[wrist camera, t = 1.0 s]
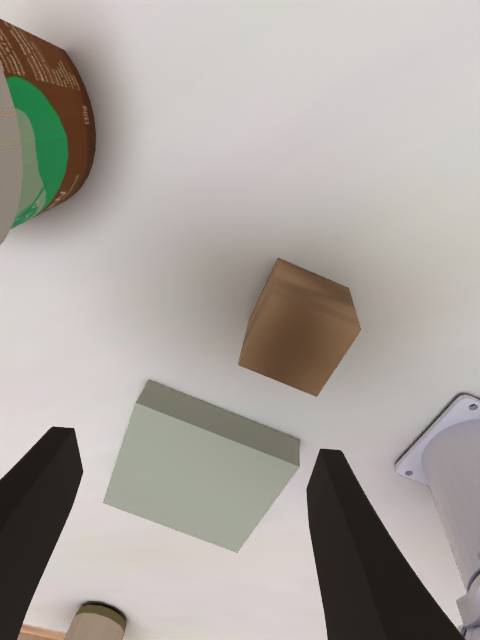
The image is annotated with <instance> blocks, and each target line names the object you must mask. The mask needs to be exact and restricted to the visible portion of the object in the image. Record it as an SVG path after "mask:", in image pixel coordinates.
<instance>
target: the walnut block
mask: <svg viewBox="0 0 480 640" xmlns="http://www.w3.org/2000/svg"><path fill="white" fill-rule="evenodd" d="M360 331H361V328H360V325H359V321H358V318H357V315H356V311H355V308H354V304H353V301H352V298H351V294H350V291H349V288H347V287H345V286H343V285H340V284H338V283H336V282H333V281H331V280H329V279H326V278H324V277H322V276H319V275H317V274H315V273H312V272H310V271H308V270H305V269H303V268H301V267H298V266H296V265H294V264H291V263H289V262H287V261H284V260H282V259H280V258H278V259H277V261H276V264H275V266H274V268H273V270H272V272H271V274H270V276H269V278H268V281H267V283H266V285H265V287H264V289H263V291H262V293H261V296H260V298H259V300H258V302H257V304H256V306H255V308H254V310H253V313H252V315H251V317H250V319H249V322H248V326H247V330H246V334H245V338H244V342H243V347H242V351H241V355H240V359H239V363H238V365H240V366H242V367H245V368H247V369H249V370H252V371H254V372H257V373H259V374H262V375H264V376H267V377H269V378H272V379H274V380H277V381H279V382H282V383H284V384H286V385H289V386H291V387H294V388H296V389H299V390H301V391H304V392H306V393H309V394H311V395H314V396H316V397H317V396H318V394H319V393H320V391H321V390H322V388H323V387H324V385H325V384H326V382H327V381H328V379H329V378H330V376H331V375H332V373H333V371H334V370H335V368H336V367H337V365H338V364H339V362H340V361H341V359H342V358H343V356H344V355H345V353H346V352H347V350H348V349H349V347H350V346H351V344H352V343H353V341H354V340H355V338H356V337H357V335H358V334H359V332H360Z"/></svg>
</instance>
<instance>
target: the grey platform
mask: <svg viewBox="0 0 480 640" xmlns="http://www.w3.org/2000/svg"><path fill="white" fill-rule="evenodd" d="M299 467H300V461H299V439H297V438H295V437H292V436H290V435H287V434H284V433H282V432H279V431H277V430H274V429H272V428H269V427H267V426H264V425H262V424H259V423H257V422H254V421H252V420H249V419H247V418H244V417H242V416H239V415H237V414H234V413H232V412H229V411H227V410H224V409H222V408H219V407H217V406H214V405H212V404H209V403H207V402H204V401H201V400H199V399H196V398H194V397H191V396H189V395H186V394H184V393H181V392H179V391H176V390H174V389H171V388H169V387H166V386H164V385H161V384H159V383H156V382H154V381H151V380H149V381H148V382H147V384H146V386H145V388H144V389H143V391H142V393H141V395H140V396H139V398H138V400H137V402H136V404H135V407H134V410H133V413H132V416H131V419H130V422H129V425H128V428H127V431H126V434H125V437H124V440H123V443H122V446H121V449H120V453H119V456H118V459H117V462H116V465H115V468H114V471H113V474H112V477H111V480H110V483H109V486H108V489H107V492H106V495H105V498H104V501H103V503H105V504H107V505H110V506H113V507H115V508H118V509H121V510H123V511H126V512H129V513H131V514H134V515H137V516H140V517H142V518H145V519H148V520H150V521H153V522H156V523H158V524H161V525H164V526H166V527H169V528H172V529H174V530H177V531H180V532H183V533H185V534H188V535H191V536H193V537H196V538H199V539H201V540H204V541H207V542H209V543H212V544H215V545H218V546H220V547H223V548H226V549H228V550H231V551H234V552H236V553H237V552H238V551H239V550H240V548H241V547H242V545H243V544H244V543H245V541H246V540H247V539H248V537H249V536H250V534H251V533H252V532H253V530H254V529H255V528H256V526H257V525H258V523H259V522H260V521H261V519H262V518H263V516H264V515H265V514H266V512H267V511H268V510H269V508H270V507H271V505H272V504H273V503H274V501H275V500H276V499H277V497H278V496H279V494H280V493H281V492H282V490H283V489H284V488H285V486H286V485H287V483H288V482H289V481H290V479H291V478H292V476H293V475H294V474H295V472H296V471H297V470H298V468H299Z"/></svg>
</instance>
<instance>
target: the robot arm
mask: <svg viewBox="0 0 480 640" xmlns="http://www.w3.org/2000/svg"><path fill="white" fill-rule="evenodd" d="M472 404H475V405H473V406H470V405H472ZM395 471H396V472H397V473H398V474H400V475H402V476H405V477H407V478H410V479H412V480H415V481H417V482H420V483H422V484H425V485H427V486H429V487H430V490H431V493H432V496H433V498H434V501H435V504H436V507H437V510H438V512H439V515H440V518H441V521H442V524H443V527H444V529H445V532H446V535H447V538H448V541H449V544H450V546H451V549H452V552H453V555H454V558H455V561H456V563H457V566H458V569H459V572H460V575H461V578H462V580H463V583H464V586H465V589H466V592H467V594H466V595H464V596H463V597H461V598H459V599H457V600H456V602H457V606H458V609H459V612H460V615H461V618H462V621H463V625H460V626H459V627H457V628H456V627H455V626H454V624H453V623H452V622H451V621H450V619H449V618H448V617H447V615H446V614H445V613H444V612H443V610H442V609H441V608H440V606H439V605H438V604H437V602H436V601H435V600H434V598H433V597H432V596H431V594H430V593H429V592H428V590H427V589H426V588H425V586H424V585H423V583H422V582H421V581H420V579H419V578H418V576H417V575H416V574H415V572H414V571H413V569H412V568H411V566H410V565H409V564H408V562H407V561H406V559H405V558H404V556H403V555H402V553H401V552H400V550H399V549H398V547H397V546H396V544H395V542H394V541H393V539H392V538H391V536H390V535H389V533H388V531H387V530H386V528H385V527H384V525H383V523H382V522H381V520H380V518H379V517H378V515H377V513H376V512H375V510H374V509H373V507H372V505H371V503H370V502H369V500H368V498H367V496H366V495H365V493H364V491H363V489H362V488H361V486H360V484H359V482H358V480H357V479H356V477H355V475H354V473H353V471H352V469H351V467H350V465H349V464H348V462H347V460H346V458H345V456H344V454H343V452H342V451H341V450H331V449H320V451H319V454H318V457H317V460H316V463H315V466H314V469H313V472H312V475H311V477H310V480H309V483H308V486H307V505H308V519H309V528H310V534H311V540H312V546H313V552H314V557H315V563H316V569H317V574H318V580H319V585H320V591H321V597H322V602H323V608H324V614H325V621H326V628H327V636H328V640H480V400H479V399H477V398H474V397H472V396H470V395H461V396H459V397H458V398H457V399H456V400H455V401H454V402H453V403H452V404H451V405H450V406H449V407H448V408H447V410H446V411H445V412H444V413H443V414H442V415H441V416H440V417H439V418H438V419H437V420H436V421H435V422H434V424H433V425H432V426H431V427H430V428H429V429H428V430H427V431H426V432H425V433H424V434H423V435H422V436H421V438H420V439H419V440H418V441H417V442H416V443H415V444H414V445H413V446H412V447H411V448H410V449H409V450H408V452H407V453H406V454H405V455H404V456H403V457H402V458H401V459H400V460H399V461H398V462H397V463H396V465H395ZM82 475H83V468H82V463H81V458H80V453H79V449H78V444H77V439H76V434H75V429H74V428H64V427H52V428H50V429H49V430H48V431H47V432H46V433H45V434H44V435H43V437H42V438H41V439H40V440H39V441H38V442H37V443H36V444H35V445H34V446H33V447H32V448H31V449H30V450H29V451H28V452H27V453H26V454H25V455H24V456H23V457H22V459H21V460H20V461H19V462H18V463H17V464H16V465H15V466H14V467H13V468H12V469H11V470H10V471H9V472H8V473H7V474H6V475H5V476H4V477H3V478H2V479H1V480H0V640H17V638H18V635H19V632H20V629H21V626H22V624H23V621H24V618H25V615H26V612H27V610H28V607H29V605H30V602H31V600H32V597H33V595H34V593H35V590H36V588H37V586H38V584H39V581H40V579H41V577H42V575H43V572H44V570H45V568H46V566H47V563H48V561H49V559H50V557H51V554H52V552H53V550H54V548H55V545H56V543H57V541H58V539H59V536H60V534H61V532H62V530H63V527H64V525H65V523H66V520H67V518H68V516H69V513H70V511H71V509H72V506H73V503H74V500H75V497H76V494H77V491H78V488H79V484H80V481H81V478H82Z"/></svg>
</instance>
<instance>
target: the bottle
mask: <svg viewBox="0 0 480 640" xmlns="http://www.w3.org/2000/svg"><path fill="white" fill-rule="evenodd" d="M125 627H126V622H125V621H124V619H123V617H122V616H121V615H119V614H118V613H117V612H115V611H114V610H112V609H111V608H108V607H105V606H100V605H86V606H83V607H81V608H80V609H79V610H78V612H77V613H76V615H75V617H74V619H73V621H72V623H71V625H70V628H69V630H68V632H67V634H66V636H65V638H64V640H122V638H123V635H124V632H125Z"/></svg>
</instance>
